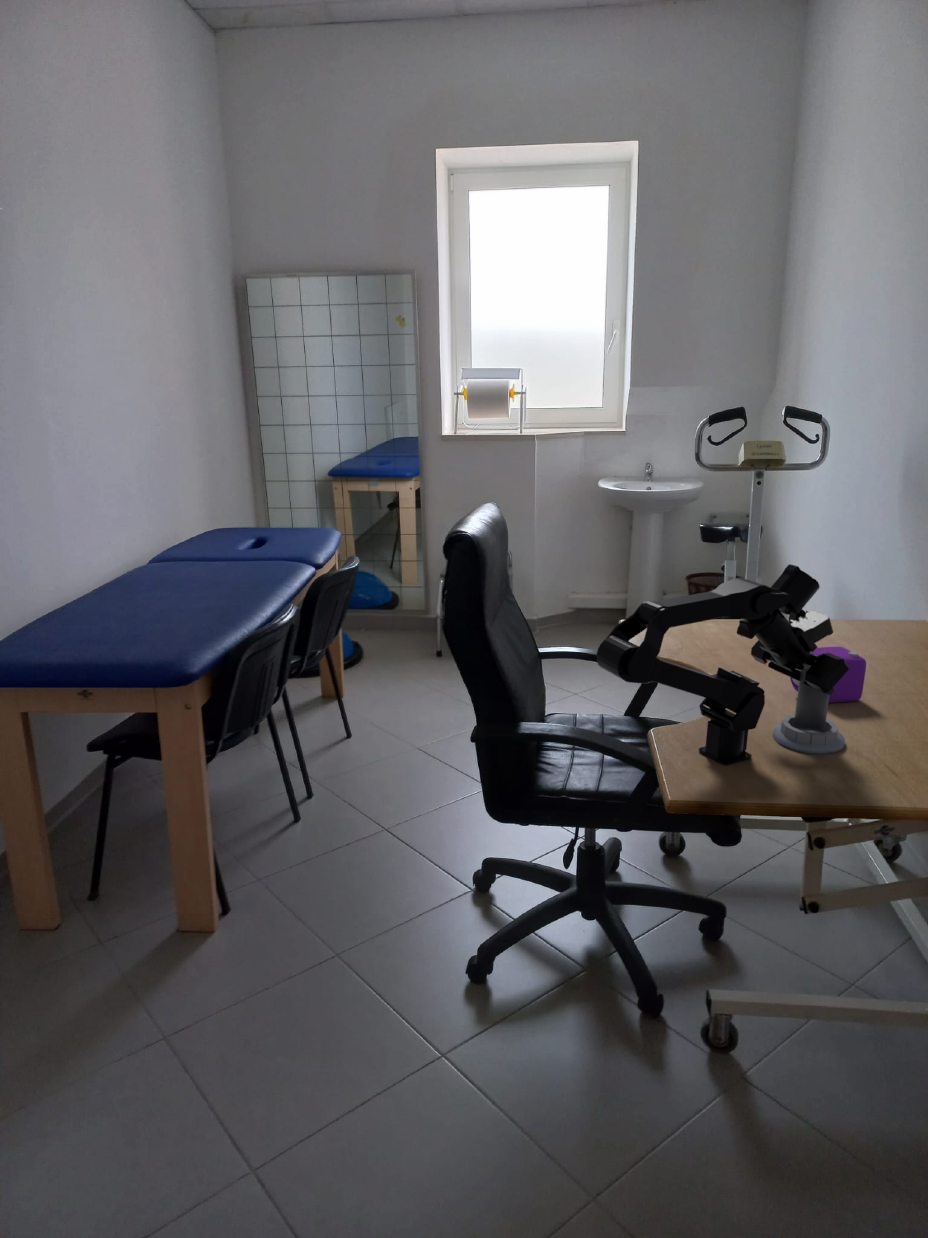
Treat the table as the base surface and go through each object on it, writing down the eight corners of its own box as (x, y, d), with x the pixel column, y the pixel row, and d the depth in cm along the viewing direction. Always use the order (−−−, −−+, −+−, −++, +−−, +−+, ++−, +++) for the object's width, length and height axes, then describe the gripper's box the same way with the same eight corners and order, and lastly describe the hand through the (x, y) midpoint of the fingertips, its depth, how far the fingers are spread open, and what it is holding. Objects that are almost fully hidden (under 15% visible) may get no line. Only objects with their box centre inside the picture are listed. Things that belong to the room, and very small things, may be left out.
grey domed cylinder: (826, 730, 149) (835, 666, 146) (793, 726, 151) (801, 662, 148) (825, 720, 154) (834, 657, 151) (793, 715, 156) (801, 653, 153)
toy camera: (777, 691, 177) (782, 646, 174) (829, 683, 181) (835, 639, 179) (815, 710, 167) (821, 662, 164) (868, 701, 172) (875, 654, 169)
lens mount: (811, 759, 146) (813, 743, 145) (758, 733, 156) (760, 718, 155) (859, 746, 151) (861, 730, 150) (805, 722, 161) (806, 707, 160)
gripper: (847, 612, 136) (891, 671, 143) (771, 586, 153) (813, 639, 160) (801, 664, 136) (847, 720, 143) (730, 631, 153) (774, 683, 160)
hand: (820, 687), depth 151 cm, fingers closed on grey domed cylinder, 5 cm apart
